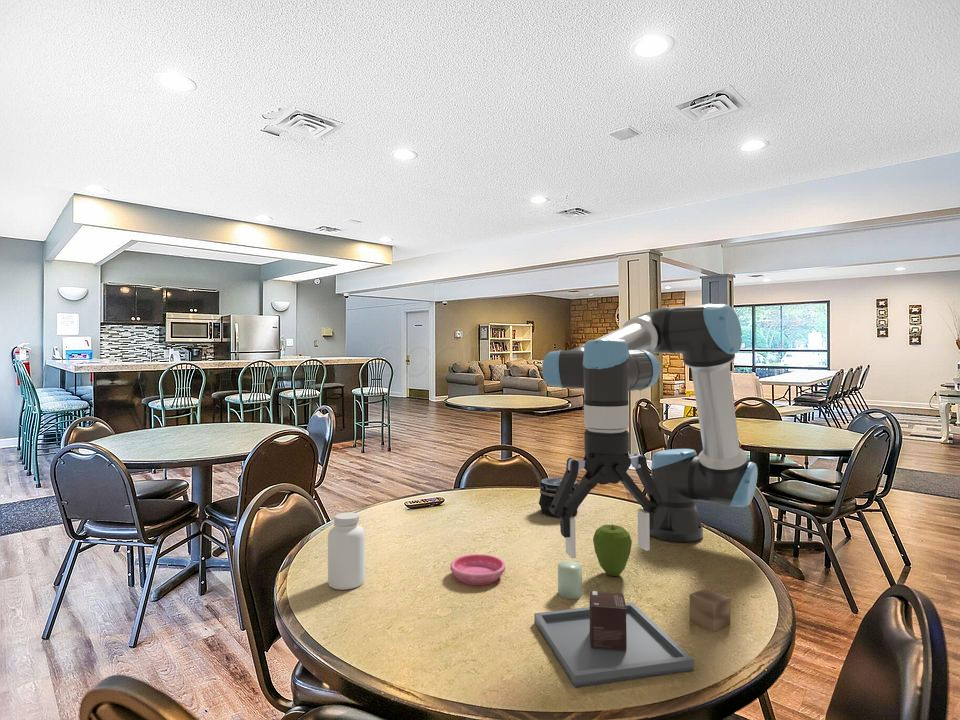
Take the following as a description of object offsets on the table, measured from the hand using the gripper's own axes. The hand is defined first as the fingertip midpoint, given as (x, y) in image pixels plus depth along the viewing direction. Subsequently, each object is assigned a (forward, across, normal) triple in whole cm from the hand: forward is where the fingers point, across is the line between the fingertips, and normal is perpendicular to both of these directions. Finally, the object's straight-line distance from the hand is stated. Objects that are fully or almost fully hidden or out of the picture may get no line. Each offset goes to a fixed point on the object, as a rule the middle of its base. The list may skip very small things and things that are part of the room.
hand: (607, 551), depth 93 cm
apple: (+17, -14, -27) cm, 34 cm away
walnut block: (+16, -22, -3) cm, 27 cm away
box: (+16, 0, 0) cm, 16 cm away
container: (+17, -19, -75) cm, 79 cm away
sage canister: (+16, -1, -20) cm, 26 cm away
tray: (+16, 0, 0) cm, 16 cm away
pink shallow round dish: (+17, +16, -33) cm, 40 cm away
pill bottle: (+16, +45, -36) cm, 60 cm away
